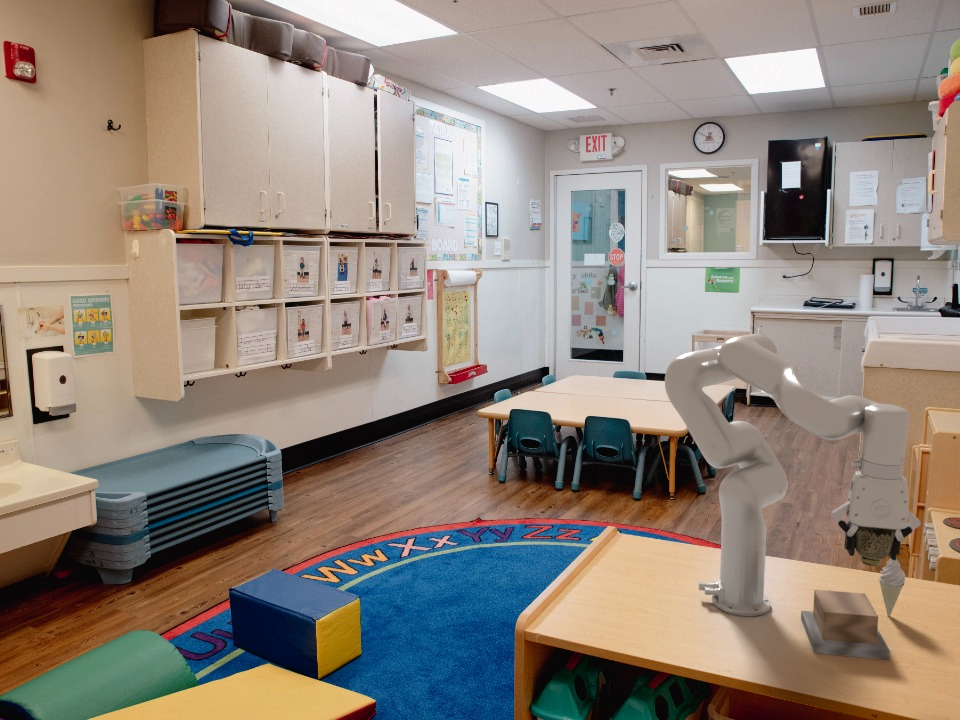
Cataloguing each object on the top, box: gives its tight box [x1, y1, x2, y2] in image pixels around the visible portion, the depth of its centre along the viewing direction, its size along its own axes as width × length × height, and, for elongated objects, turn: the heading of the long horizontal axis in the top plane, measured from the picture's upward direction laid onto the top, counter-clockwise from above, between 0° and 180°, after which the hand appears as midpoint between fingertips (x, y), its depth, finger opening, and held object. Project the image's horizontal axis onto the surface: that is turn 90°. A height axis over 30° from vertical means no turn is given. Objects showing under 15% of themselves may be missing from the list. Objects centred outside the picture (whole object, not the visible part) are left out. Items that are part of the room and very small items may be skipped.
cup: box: [854, 527, 896, 568], centre depth 153 cm, size 8×7×8 cm
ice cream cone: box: [878, 556, 906, 617], centre depth 170 cm, size 5×5×15 cm
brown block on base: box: [800, 589, 891, 661], centre depth 162 cm, size 14×14×8 cm
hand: (870, 554), depth 153 cm, fingers closed on cup, 6 cm apart
